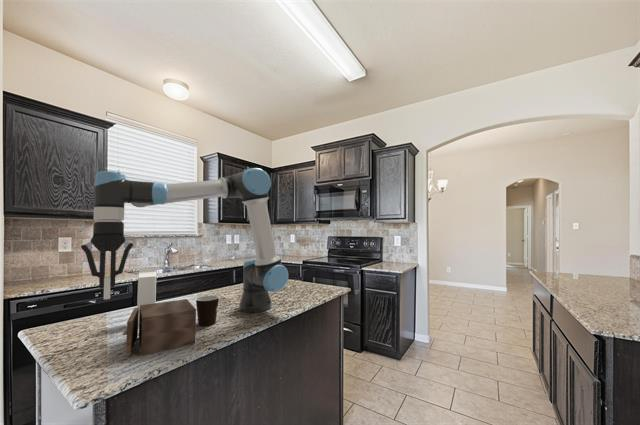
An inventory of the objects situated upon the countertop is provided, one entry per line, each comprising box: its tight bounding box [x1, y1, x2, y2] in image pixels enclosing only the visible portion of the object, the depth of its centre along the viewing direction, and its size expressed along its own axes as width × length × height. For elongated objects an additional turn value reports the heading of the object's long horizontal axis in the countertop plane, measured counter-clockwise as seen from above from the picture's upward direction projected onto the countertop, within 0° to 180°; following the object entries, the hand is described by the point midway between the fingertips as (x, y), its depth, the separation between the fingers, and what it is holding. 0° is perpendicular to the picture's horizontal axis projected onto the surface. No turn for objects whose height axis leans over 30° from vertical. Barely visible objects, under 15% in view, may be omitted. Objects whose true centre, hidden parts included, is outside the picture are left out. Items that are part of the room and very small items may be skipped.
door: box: [122, 307, 139, 357], centre depth 87 cm, size 2×17×10 cm, turn 28°
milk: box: [136, 267, 157, 327], centre depth 110 cm, size 6×6×22 cm
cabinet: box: [138, 298, 197, 356], centre depth 92 cm, size 15×17×11 cm
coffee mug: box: [195, 295, 220, 327], centre depth 110 cm, size 12×9×10 cm
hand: (106, 298), depth 83 cm, fingers closed
